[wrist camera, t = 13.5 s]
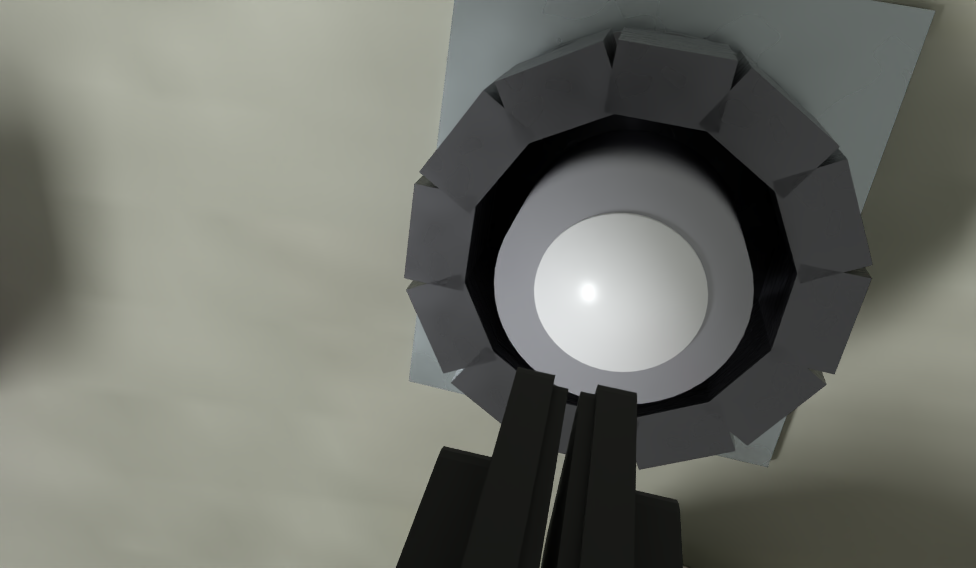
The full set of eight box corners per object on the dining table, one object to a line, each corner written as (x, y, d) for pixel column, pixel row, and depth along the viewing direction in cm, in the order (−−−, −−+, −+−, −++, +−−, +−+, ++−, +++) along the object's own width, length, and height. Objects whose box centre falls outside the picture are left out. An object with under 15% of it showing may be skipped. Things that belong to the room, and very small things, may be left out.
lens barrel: (465, -67, 21) (419, -69, 17) (931, 9, 19) (998, 26, 16) (411, 376, 27) (368, 449, 23) (766, 461, 25) (784, 555, 21)
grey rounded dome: (540, 111, 21) (512, 147, 17) (766, 153, 20) (788, 200, 17) (507, 308, 24) (477, 376, 20) (707, 352, 23) (715, 432, 19)
